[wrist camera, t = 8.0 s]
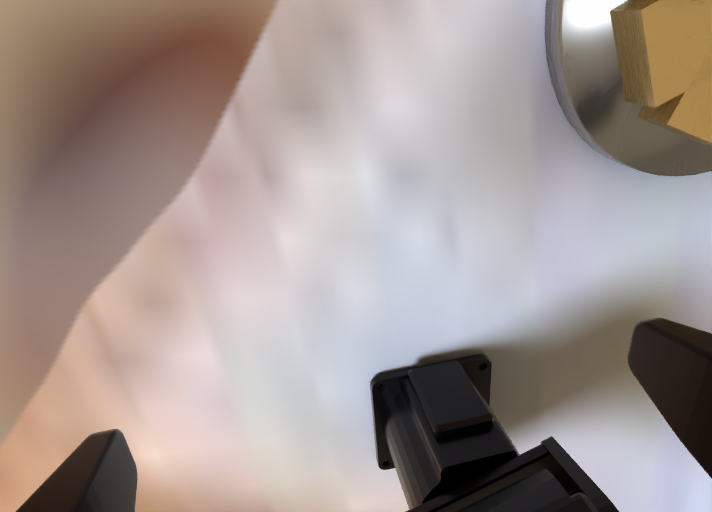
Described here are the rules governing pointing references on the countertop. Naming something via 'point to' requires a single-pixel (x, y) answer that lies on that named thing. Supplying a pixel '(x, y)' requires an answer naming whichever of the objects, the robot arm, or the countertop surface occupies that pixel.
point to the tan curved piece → (667, 63)
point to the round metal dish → (608, 93)
